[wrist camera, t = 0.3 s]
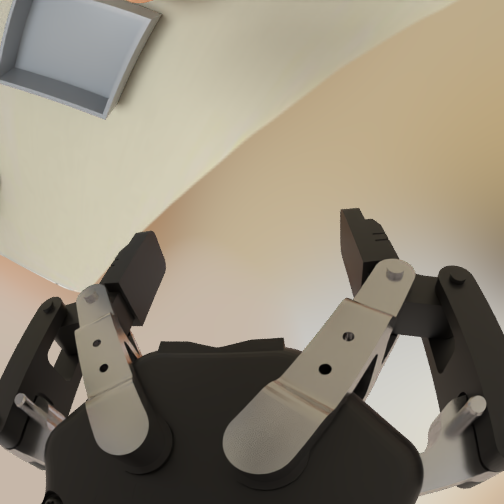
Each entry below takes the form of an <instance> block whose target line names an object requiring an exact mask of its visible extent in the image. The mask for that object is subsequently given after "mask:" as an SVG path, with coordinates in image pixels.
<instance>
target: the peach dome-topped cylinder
mask: <svg viewBox="0 0 504 504" xmlns="http://www.w3.org/2000/svg"><path fill="white" fill-rule="evenodd" d="M126 1H129V2H132V3H145V2H149V1H152V0H126Z"/></svg>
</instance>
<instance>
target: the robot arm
mask: <svg viewBox="0 0 504 504" xmlns="http://www.w3.org/2000/svg"><path fill="white" fill-rule="evenodd" d="M340 230H341V231H340V236H341V237H340V239H341V253H342V258H343V261H344V264H345V268H346V271H347V275H348V278H349V282H350V285H351V289H352V293H353V296H354V299H353V300H352V299H349V298H345V299H344V300H343V301H342V302H341V303H340V305H339V306H338V307H337V309H336V310H335V311H334V313H333V314H332V315H331V316H330V318H329V319H328V320H327V322H326V323H325V324H324V325H323V327H322V328H321V329H320V331H319V332H318V333H317V334H316V336H315V337H314V338H313V339H312V341H311V342H310V343H309V344H308V345H307V347H306V348H305V349H304V350H303V351H299V350H296V349H292V348H287V347H285V344H284V338H273V339H256V340H248V341H244V342H240V343H236V344H232V345H228V346H224V347H219V348H218V347H217V348H216V347H211V346H206V345H201V344H197V343H192V342H165V341H161V343H160V346H159V349H158V351H155V352H151V353H149V354H146V355H144V356H142V354H141V352H140V350H139V347H138V345H137V343H136V340H135V338H134V336H133V334H132V332H131V331H130V328H131V326H143V324H144V321H145V319H146V316H147V314H148V311H149V309H150V307H151V304H152V302H153V299H154V297H155V295H156V292H157V290H158V288H159V285H160V283H161V281H162V278H163V276H164V274H165V270H166V264H165V259H164V256H163V254H162V251H161V249H160V246H159V244H158V241H157V238H156V235H155V233H154V232H153V231H146V232H139V233H136V234H135V235H134V237H133V238H132V240H131V241H130V243H129V244H128V245H127V246H126V247H125V248H123V249H122V250H121V251H120V252H119V254H118V255H117V257H116V258H115V261H113V263H112V264H111V267H109V269H108V270H107V272H106V274H105V275H104V277H103V278H102V280H101V282H100V283H99V284H94V285H91V286H89V287H87V288H86V289H84V290H83V291H82V292H81V293H80V294H79V295H78V297H77V300H76V302H75V303H72V304H69V305H65V304H64V303H63V302H62V300H61V298H59V297H52V298H50V299H48V300H46V301H45V302H44V303H43V304H42V305H41V306H40V307H39V309H38V310H37V312H36V314H35V315H34V317H33V319H32V320H31V322H30V324H29V325H28V327H27V329H26V331H25V333H24V334H23V336H22V338H21V340H20V342H19V343H18V345H17V347H16V349H15V351H14V353H13V355H12V357H11V359H10V361H9V362H8V365H7V367H6V369H5V371H4V373H3V375H2V377H1V379H0V445H2V447H3V448H5V449H6V450H7V451H9V452H11V453H12V454H14V455H15V456H17V457H19V458H20V459H22V460H23V461H25V462H28V463H30V464H32V465H34V466H36V467H37V468H39V469H41V470H46V492H45V497H44V500H43V502H42V504H415V503H416V500H417V498H418V496H421V495H425V494H429V493H433V492H437V491H440V490H444V489H447V488H450V487H453V486H457V487H459V488H471V487H473V486H475V485H477V484H480V483H481V482H484V481H486V480H487V479H489V478H491V477H493V476H495V475H497V474H499V473H500V472H502V471H504V334H503V332H502V330H501V328H500V326H499V324H498V322H497V320H496V317H495V316H494V314H493V312H492V310H491V308H490V306H489V304H488V302H487V300H486V298H485V297H484V295H483V293H482V291H481V289H480V287H479V286H478V284H477V282H476V280H475V279H474V277H473V276H472V274H471V273H470V272H468V271H467V270H466V269H464V268H462V267H458V266H446V267H444V268H442V269H441V270H440V271H439V274H438V277H431V276H423V275H418V274H415V271H414V268H413V267H412V266H411V265H410V264H408V263H407V262H405V261H403V260H400V259H399V258H398V256H397V254H396V252H395V250H394V248H393V246H392V245H391V242H390V241H389V240H388V237H387V235H386V234H385V232H384V230H383V228H382V226H381V225H380V224H379V223H377V222H376V221H375V220H373V219H364V217H363V215H362V213H361V211H360V209H359V208H353V209H342V210H341V212H340ZM400 334H401V335H409V336H418V337H421V338H422V341H423V344H424V347H425V351H426V355H427V358H428V362H429V366H430V370H431V374H432V377H433V381H434V385H435V390H436V394H437V399H438V404H439V408H440V414H439V415H438V416H437V418H436V419H435V420H434V421H433V423H432V424H431V426H430V429H429V432H428V445H427V448H426V450H425V452H423V453H419V452H418V451H417V449H416V448H415V446H414V445H413V444H412V443H411V442H410V441H409V440H408V439H407V438H406V437H404V436H403V435H402V434H401V433H400V432H398V431H397V430H396V429H395V428H394V427H393V426H392V425H390V424H389V423H388V422H387V421H386V420H385V419H384V418H382V417H381V416H380V415H379V414H378V413H377V412H375V411H374V410H373V409H372V408H371V407H370V406H369V405H368V404H366V403H365V400H366V398H367V397H368V395H369V393H370V392H371V390H372V388H373V386H374V384H375V382H376V380H377V377H378V375H379V373H380V371H381V369H382V367H383V366H384V364H385V362H386V360H387V358H388V357H389V355H390V353H391V351H392V349H393V347H394V345H395V343H396V341H397V339H398V337H399V335H400ZM54 340H55V341H56V342H57V343H58V345H59V346H60V347H61V348H62V350H61V352H60V354H59V356H58V359H57V361H56V363H55V365H54V368H53V366H52V365H51V364H50V363H49V361H48V351H49V349H50V347H51V344H52V342H53V341H54ZM82 375H83V379H84V383H85V388H86V391H87V396H88V399H87V400H86V402H85V403H83V404H82V405H81V406H80V407H79V408H78V409H76V410H75V411H74V412H73V413H71V414H70V415H69V412H70V409H71V406H72V403H73V400H74V397H75V394H76V391H77V388H78V386H79V383H80V380H81V377H82ZM68 415H69V416H68Z"/></svg>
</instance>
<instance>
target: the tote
mask: <svg viewBox="0 0 504 504" xmlns="http://www.w3.org/2000/svg"><path fill="white" fill-rule="evenodd" d="M161 15H162V14H161V13H158V12H155V11H153V10H150V9H148V8H145V7H142V6H139V5H136V4H133V3H131V2H128V1H124V0H13V2H12V5H11V8H10V12H9V15H8V19H7V22H6V26H5V30H4V34H3V38H2V42H1V47H0V84H3V85H6V86H10V87H13V88H16V89H19V90H22V91H26V92H29V93H32V94H35V95H38V96H41V97H44V98H47V99H50V100H53V101H56V102H58V103H61V104H64V105H67V106H70V107H73V108H75V109H78V110H81V111H83V112H86V113H89V114H91V115H94V116H97V117H99V118H102V119H105V120H106V118H107V117H108V115H109V114H110V113H111V111H112V110H113V109H114V107H115V106H116V105H117V103H118V101H119V98H120V96H121V94H122V91H123V89H124V87H125V85H126V82H127V80H128V78H129V76H130V74H131V71H132V69H133V67H134V65H135V63H136V61H137V59H138V57H139V55H140V53H141V51H142V49H143V47H144V45H145V43H146V41H147V40H148V38H149V36H150V34H151V32H152V30H153V29H154V27H155V25H156V23H157V22H158V20H159V18H160V17H161Z"/></svg>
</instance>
